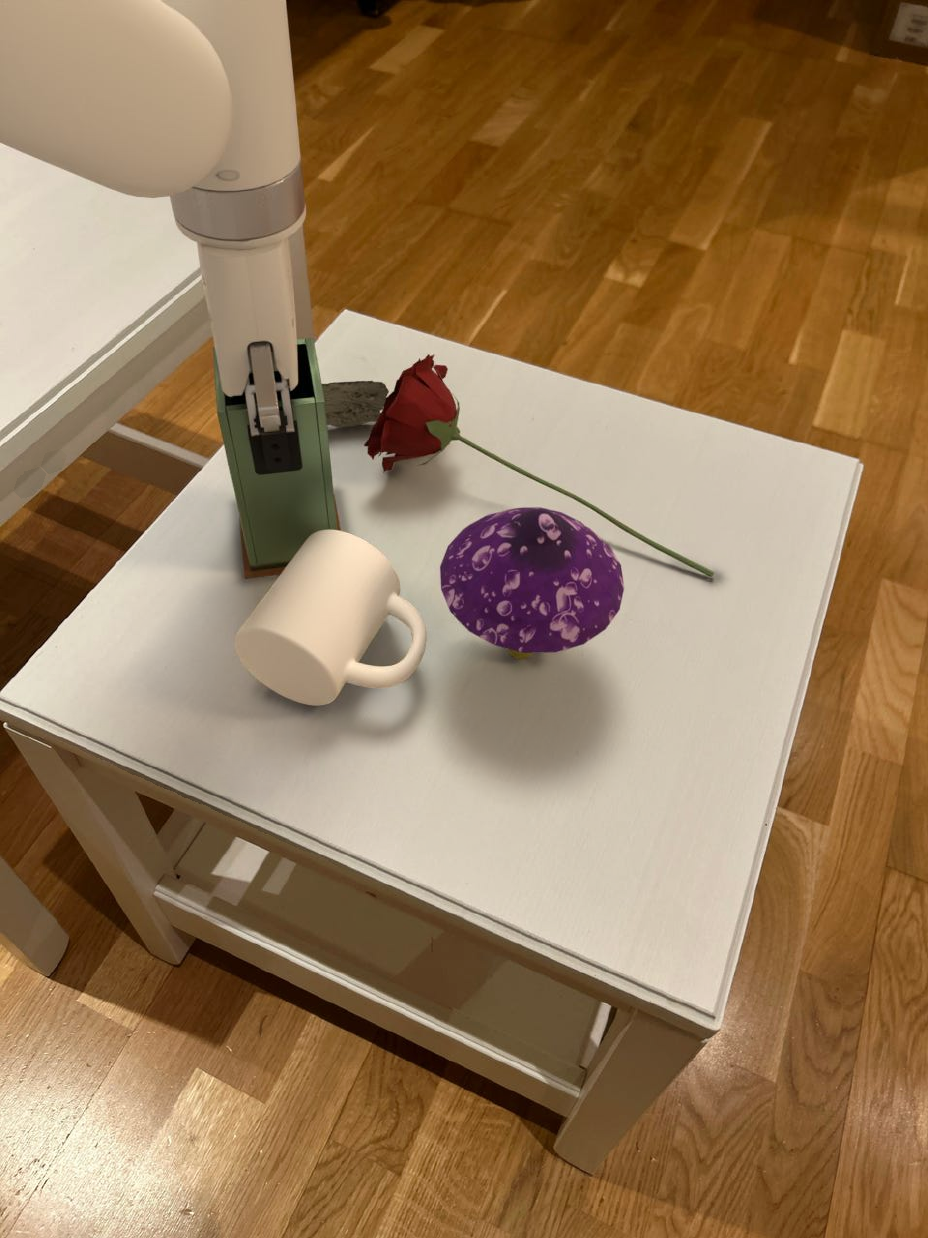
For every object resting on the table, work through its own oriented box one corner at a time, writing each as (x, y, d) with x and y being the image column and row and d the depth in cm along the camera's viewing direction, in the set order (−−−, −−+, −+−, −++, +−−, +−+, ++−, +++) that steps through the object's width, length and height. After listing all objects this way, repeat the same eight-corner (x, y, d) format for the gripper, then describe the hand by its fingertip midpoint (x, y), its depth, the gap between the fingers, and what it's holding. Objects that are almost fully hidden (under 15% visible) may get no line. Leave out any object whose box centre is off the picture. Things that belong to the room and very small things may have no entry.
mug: (242, 681, 67) (224, 613, 61) (310, 584, 73) (300, 513, 67) (391, 742, 65) (388, 679, 59) (450, 638, 71) (453, 569, 64)
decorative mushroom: (408, 686, 68) (406, 549, 56) (477, 568, 75) (489, 424, 63) (568, 752, 65) (603, 622, 53) (625, 622, 72) (666, 482, 60)
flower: (721, 582, 68) (366, 390, 71) (665, 655, 77) (351, 481, 79) (761, 490, 74) (434, 317, 77) (705, 567, 83) (412, 409, 86)
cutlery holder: (251, 571, 73) (216, 412, 61) (245, 507, 78) (212, 346, 65) (340, 560, 75) (324, 401, 62) (329, 498, 79) (313, 337, 66)
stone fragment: (279, 434, 83) (275, 389, 79) (279, 428, 83) (275, 384, 79) (388, 425, 85) (389, 382, 81) (387, 420, 85) (388, 377, 81)
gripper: (167, 122, 58) (214, 353, 71) (172, 282, 47) (226, 516, 61) (289, 115, 59) (313, 344, 72) (320, 270, 49) (341, 503, 62)
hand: (273, 422), depth 67 cm, fingers open, 9 cm apart
